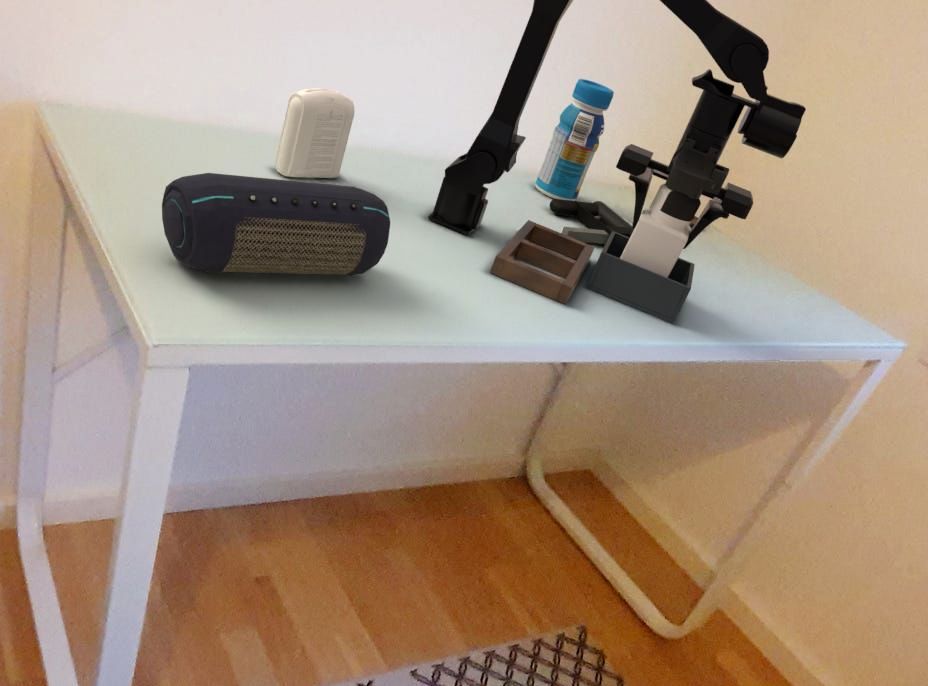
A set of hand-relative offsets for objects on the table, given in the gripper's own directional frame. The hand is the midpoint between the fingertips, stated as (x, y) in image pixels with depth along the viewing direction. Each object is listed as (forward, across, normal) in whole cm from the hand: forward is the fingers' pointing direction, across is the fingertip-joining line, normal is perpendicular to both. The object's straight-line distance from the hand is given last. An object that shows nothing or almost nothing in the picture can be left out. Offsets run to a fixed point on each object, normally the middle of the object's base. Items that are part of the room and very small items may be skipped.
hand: (658, 237), depth 120 cm
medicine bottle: (+5, 0, 0) cm, 5 cm away
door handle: (+9, -9, +19) cm, 23 cm away
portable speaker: (+9, -38, -40) cm, 56 cm away
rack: (+9, -13, -5) cm, 17 cm away
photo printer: (+9, -50, -7) cm, 52 cm away
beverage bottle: (+9, -19, +35) cm, 41 cm away
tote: (+9, 0, 0) cm, 9 cm away
